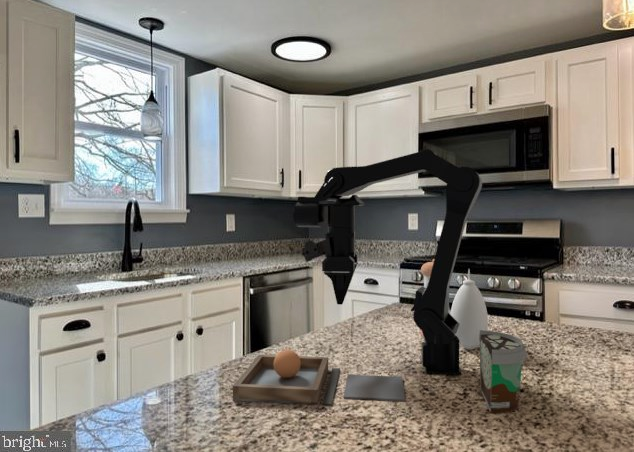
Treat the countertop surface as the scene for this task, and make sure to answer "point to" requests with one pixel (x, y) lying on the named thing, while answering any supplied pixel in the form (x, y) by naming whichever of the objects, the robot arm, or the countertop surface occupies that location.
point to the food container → (500, 370)
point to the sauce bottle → (469, 314)
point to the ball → (287, 363)
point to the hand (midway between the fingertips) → (341, 299)
